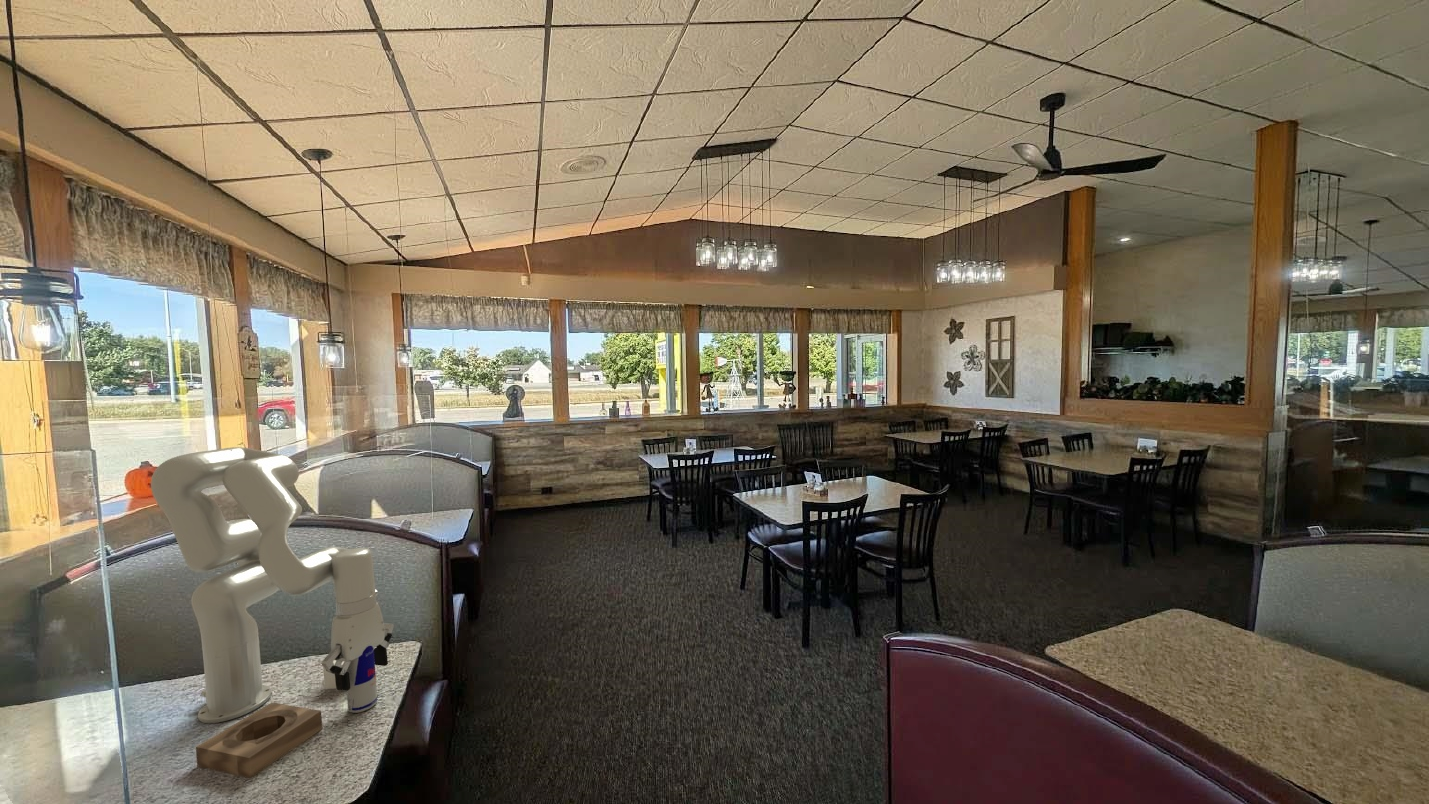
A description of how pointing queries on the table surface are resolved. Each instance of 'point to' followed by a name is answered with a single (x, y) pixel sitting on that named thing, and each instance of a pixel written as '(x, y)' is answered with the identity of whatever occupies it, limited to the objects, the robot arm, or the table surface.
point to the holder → (258, 739)
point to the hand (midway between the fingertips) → (363, 676)
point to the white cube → (330, 678)
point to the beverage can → (362, 682)
